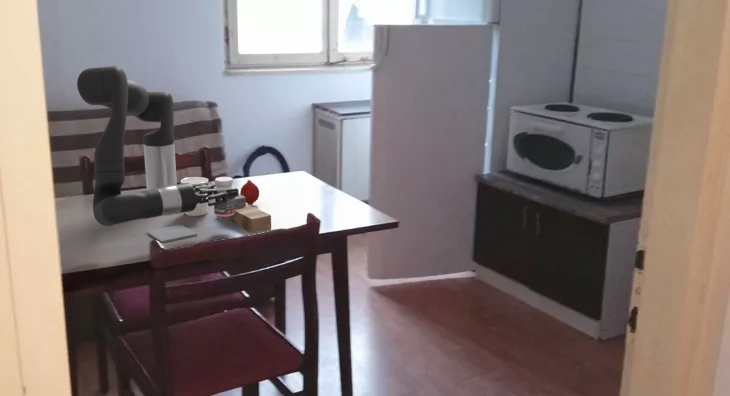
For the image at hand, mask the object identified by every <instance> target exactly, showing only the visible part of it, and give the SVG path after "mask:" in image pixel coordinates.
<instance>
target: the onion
mask: <svg viewBox="0 0 730 396" xmlns="http://www.w3.org/2000/svg"><path fill="white" fill-rule="evenodd" d="M239 194H240V195H242V196H244V197H246V204H248V205H250V206H252V205H253V204H254V203H256V202H257V201H258V199H259V197H260V190H259V188H258V186H257V185H256V184H255V183H254V182H253V181H252V180H251V179H248V180H247V182H245V183H244V184H243V185H242V186H241V187H240V193H239Z"/></svg>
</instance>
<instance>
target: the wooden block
mask: <svg viewBox="0 0 730 396" xmlns="http://www.w3.org/2000/svg"><path fill="white" fill-rule="evenodd" d="M219 217H221V216H219ZM221 218H222V219H225V220H226V221H228V222H230V223H232V224H233V225H236V226H238V227H240V228H242V229H243V230H246V231H248V232H249V233H251V234H254V233H258V232H264V231H268V230H272V215H271V214H269V213H267V212H265V211H263V210H261V209H259V208H257V207H255V206H252V205H248V204H247V203H246V197H244V196H242V195H240V193H239V195H238V196H237V197H235V214H234V215H232V216H227V217H221Z"/></svg>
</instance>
